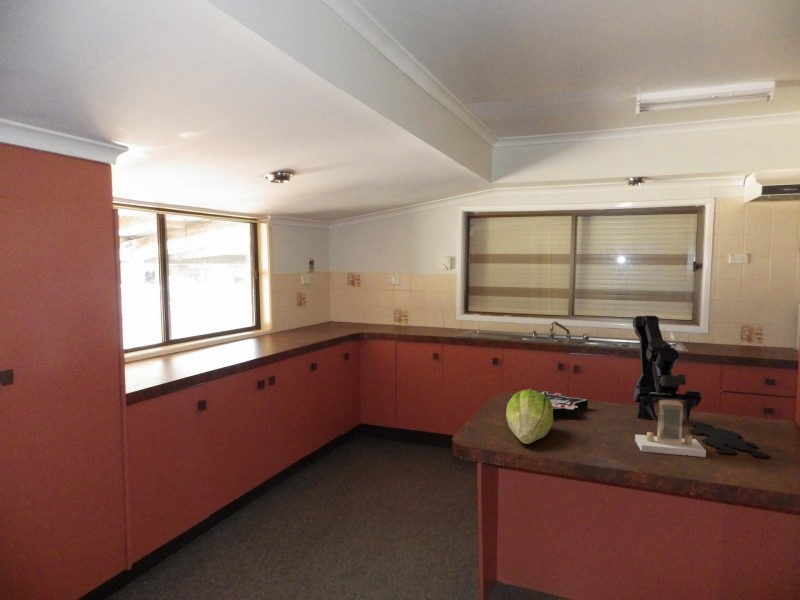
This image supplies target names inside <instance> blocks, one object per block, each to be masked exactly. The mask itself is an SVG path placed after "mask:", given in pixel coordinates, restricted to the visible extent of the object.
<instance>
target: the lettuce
mask: <svg viewBox="0 0 800 600" xmlns="http://www.w3.org/2000/svg"><path fill="white" fill-rule="evenodd" d="M539 392H540V391H537V390H535V389H531V388H527V389H521V390H520V391H517V392H516V393H515V394H513V395H512V397H511V398H510V400H508V402H507V405H506V412H505V413H506V415H505V418H506V421H507V425H508V427H509V429H510V430H511V433H513V434H514V436H515V437H516V438H517V439H518V440H519V441H520V442H521V443H522V444H526V445H528V444H529V445H530V444H532V443H534V442H535V441H538V440H540V439H542V438H544V437H546V436H547V435H548V434H549V432H550V430H551V428H552V426H553V425H554V418H553V407H552V404H551V402H550V400H549V399H548V398H547V397H546V396H545V395H543V394H541V393H539Z"/></svg>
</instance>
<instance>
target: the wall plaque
mask: <svg viewBox="0 0 800 600" xmlns="http://www.w3.org/2000/svg"><path fill="white" fill-rule="evenodd" d="M538 392H539V393H541V394H543V395H545V396H546V397H547V398H548V399H549V400H550V402H551V404H552V407H553V420H554V419H567V420H574V419H576V418H578V417H579V412H583V411H587V410H588V408H589V407H588V406H589V400H588V398H587V399H586V398H578V397H572V396H571V397H569V396H565V395H564V394H563V393H561V392H554V393H551V392H550V391H549V390H547V391H543V390H542V391H538Z"/></svg>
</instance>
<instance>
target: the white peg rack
mask: <svg viewBox="0 0 800 600" xmlns="http://www.w3.org/2000/svg"><path fill="white" fill-rule="evenodd" d="M634 441H635V443H636V445H637V446H638V448H639V450H640V452H645V453H655V454H665V455H666V454H667V455H678V456H687V455H688V456H691V457H701V458H706V456H707V450H706V449H705V448H704V447H703V446H702V444H701V443H700V442H699V441H698V440H697V439H694V438H693V436H692V435H690V434H685V435H684V438H682V439H681V445H671V444H660V443H659V441H658V440H657V435H655V433H654V432H651V431H647V432H646V434H636V433H635V435H634Z"/></svg>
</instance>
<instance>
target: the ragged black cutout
mask: <svg viewBox="0 0 800 600" xmlns="http://www.w3.org/2000/svg"><path fill="white" fill-rule="evenodd" d="M691 427H692V428H690V429H688V432H689V433H690V434H691V435H695V436H701V437H702V436H705V437H706V438H703V439H701V442H702V443H703V444H704V445H705V446H709V447H711V448H712V447H713V448H714V449H715V453H717V454H718V455H722V454H723V456H724V455H725V456H733V457H734V456H736V455H739V454H738V453H739V452H741V453H747V454H750V456H751V457H752V458H753V459H762V460H769V459H771V455H770V454H768V453H764V452H763V451H761V450H759V446H758V445H757V444H755V443H754V442H750V441H745V440H742V439H743V436H742V435H741V434H740V433H738V432H734V431H732V430H729V429H724V428H719V427H718V428H716V427H714V425H712V424H708V423H702V422H701V423H700V422H695V423H692V424H691ZM693 427H694V428H693Z"/></svg>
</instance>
